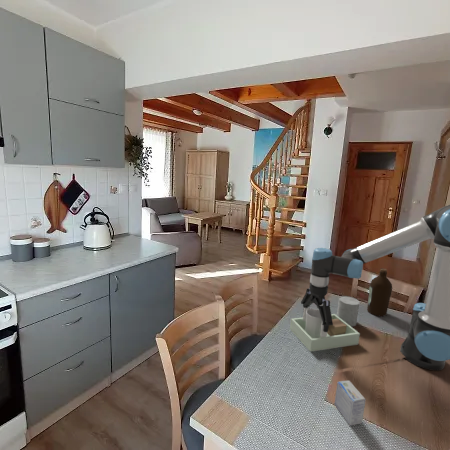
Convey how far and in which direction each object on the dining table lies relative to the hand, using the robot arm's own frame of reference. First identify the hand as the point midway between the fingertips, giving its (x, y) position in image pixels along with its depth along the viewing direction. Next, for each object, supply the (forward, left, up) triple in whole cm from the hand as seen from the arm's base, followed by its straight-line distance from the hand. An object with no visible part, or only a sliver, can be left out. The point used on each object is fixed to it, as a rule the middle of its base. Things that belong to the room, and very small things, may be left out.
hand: (313, 328), depth 123 cm
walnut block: (0, -12, -4) cm, 13 cm away
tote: (0, -5, -5) cm, 7 cm away
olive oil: (+15, -50, -5) cm, 53 cm away
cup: (0, 0, -5) cm, 5 cm away
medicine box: (-37, +12, -6) cm, 39 cm away
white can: (+9, -25, -6) cm, 28 cm away
